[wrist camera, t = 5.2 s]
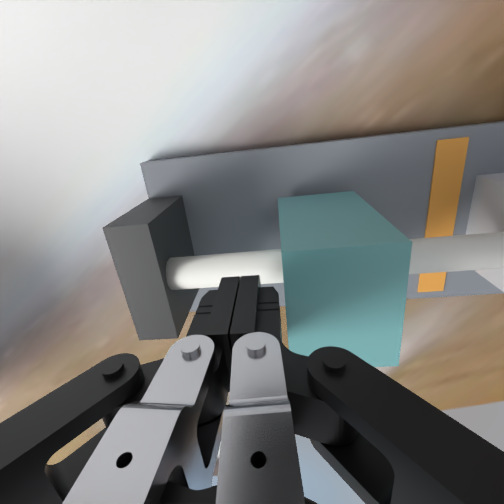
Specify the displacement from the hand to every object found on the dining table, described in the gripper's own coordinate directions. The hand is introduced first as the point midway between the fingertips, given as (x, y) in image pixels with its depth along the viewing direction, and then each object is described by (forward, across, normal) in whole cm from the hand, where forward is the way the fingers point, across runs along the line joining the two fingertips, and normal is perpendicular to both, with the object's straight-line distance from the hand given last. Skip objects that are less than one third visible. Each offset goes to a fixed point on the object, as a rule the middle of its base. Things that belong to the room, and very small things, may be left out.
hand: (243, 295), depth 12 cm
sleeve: (+6, -4, 0) cm, 7 cm away
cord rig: (+8, -5, 0) cm, 9 cm away
